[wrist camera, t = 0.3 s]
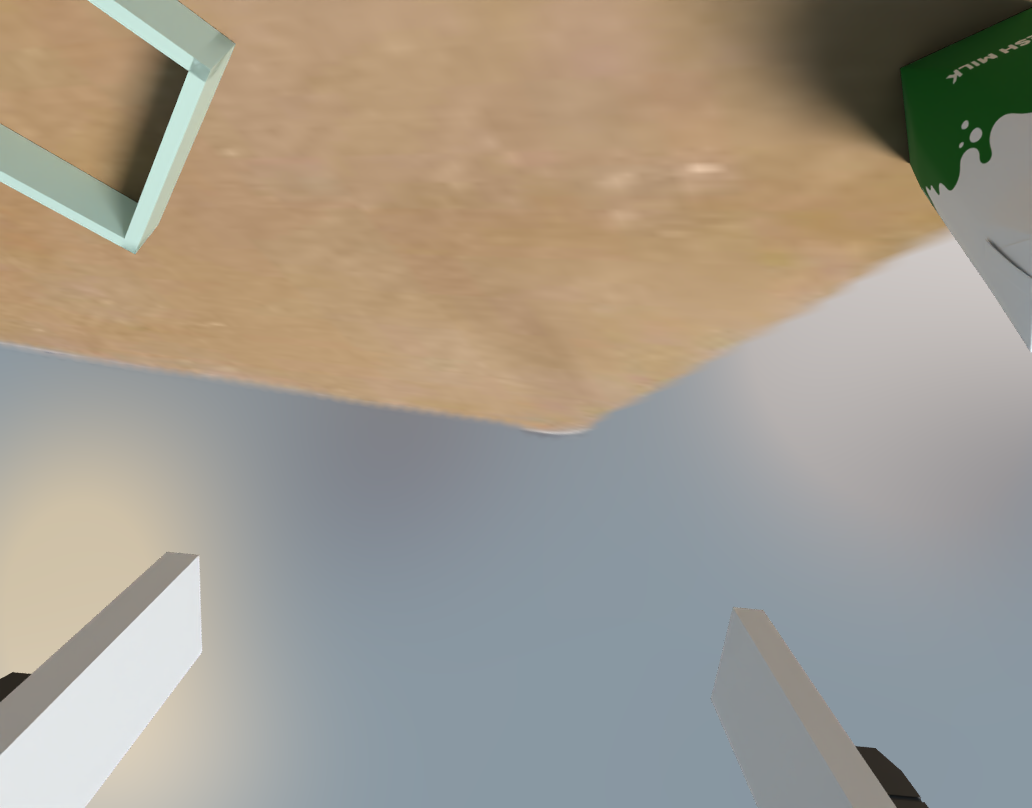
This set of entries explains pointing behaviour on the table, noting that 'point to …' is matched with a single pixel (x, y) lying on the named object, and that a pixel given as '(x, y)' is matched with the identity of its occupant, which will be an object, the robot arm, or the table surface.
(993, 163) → the milk carton
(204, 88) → the tray pen
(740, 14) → the table surface
